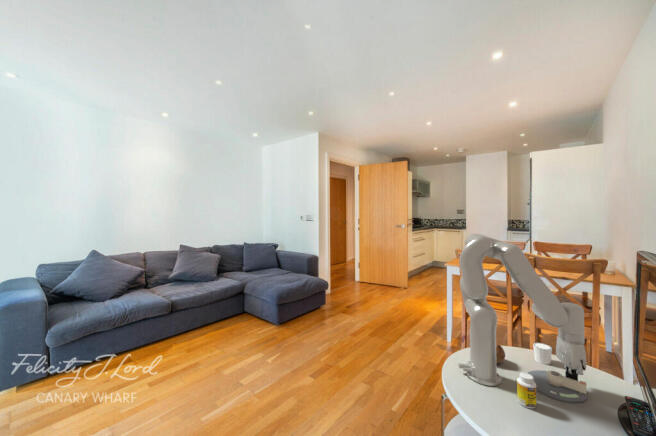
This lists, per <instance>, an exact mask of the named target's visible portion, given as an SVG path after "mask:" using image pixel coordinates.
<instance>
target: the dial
mask: <svg viewBox="0 0 656 436" xmlns="http://www.w3.org/2000/svg"><path fill="white" fill-rule="evenodd" d="M547 371H548V370H547ZM547 371H546V370H541V369H540V370H539V369H538V370H530V371H529V372H527V374H530V375H532V376H533V380H534V382H535V383H536V392H538V393H540V394H542V395H544V396H546V397H548V398H551V399H553V400H556V401H560V402H565V403H571V404H582V403H584V402H586V401H587V400H588V392H587V391H586V394H585V393H582V392H579V391H576V390H573V389H570V388H567V387H564V386H563V387H556V386H553V385H551V384H549V383H548V382H547ZM563 376H564V377H566V375H563Z"/></svg>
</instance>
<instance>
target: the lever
mask: <svg viewBox="0 0 656 436" xmlns="http://www.w3.org/2000/svg"><path fill="white" fill-rule="evenodd" d="M564 376H565V375H562V374H561V373H560V372H558V371H555V370H547V382H548V383H549V384H551V385H553V386H556V387H563V386H564V387H567V388H570V389H573V390H576V391H579V392H582V393H585V394H586V392H587V382H586V381H583V380H580V381H579V380H578V381H576V380H573V379H570V378H567V377H566V376H565V377H564Z"/></svg>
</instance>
